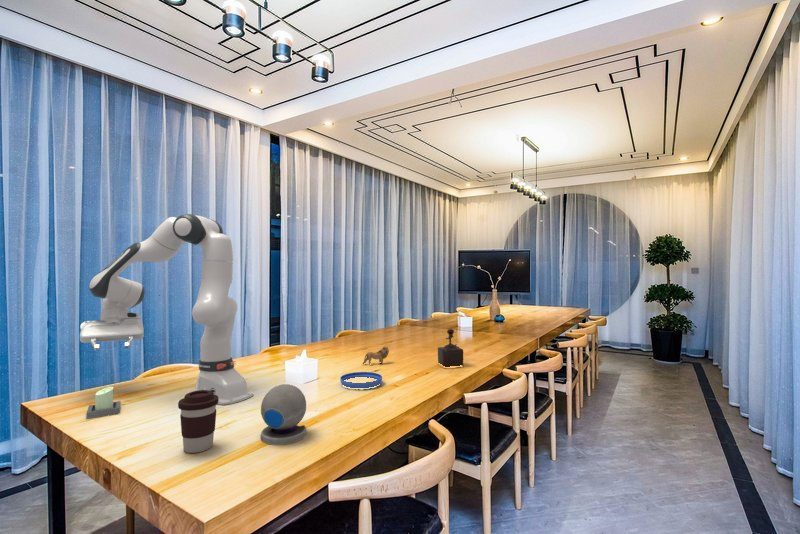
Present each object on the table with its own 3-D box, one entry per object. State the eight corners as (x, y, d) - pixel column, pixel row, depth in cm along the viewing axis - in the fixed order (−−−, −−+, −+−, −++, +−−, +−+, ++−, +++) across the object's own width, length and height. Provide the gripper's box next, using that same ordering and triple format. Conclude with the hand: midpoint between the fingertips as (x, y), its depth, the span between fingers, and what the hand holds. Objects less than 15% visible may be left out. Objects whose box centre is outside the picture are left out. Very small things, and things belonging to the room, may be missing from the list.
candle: (98, 416, 134) (99, 391, 134) (92, 413, 136) (92, 389, 136) (115, 411, 138) (116, 388, 138) (109, 409, 140) (109, 385, 141)
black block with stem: (465, 367, 202) (465, 332, 202) (445, 369, 199) (445, 333, 199) (452, 361, 217) (452, 328, 217) (433, 362, 214) (433, 329, 214)
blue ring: (359, 377, 184) (359, 369, 184) (390, 383, 174) (390, 375, 174) (331, 386, 170) (331, 378, 170) (363, 394, 159) (363, 385, 159)
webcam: (313, 429, 123) (313, 380, 123) (293, 447, 110) (293, 393, 110) (275, 425, 125) (275, 378, 126) (251, 442, 113) (251, 389, 113)
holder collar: (89, 411, 138) (89, 405, 138) (120, 406, 143) (120, 400, 143) (86, 419, 131) (86, 413, 131) (119, 413, 136) (119, 407, 136)
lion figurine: (387, 362, 214) (387, 345, 214) (390, 364, 209) (390, 347, 209) (360, 364, 209) (360, 347, 209) (363, 366, 204) (363, 349, 204)
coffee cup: (187, 440, 114) (188, 388, 114) (223, 439, 115) (223, 387, 115) (170, 456, 104) (171, 399, 104) (210, 455, 105) (210, 398, 105)
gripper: (80, 316, 151) (76, 346, 143) (144, 313, 162) (143, 341, 154) (81, 326, 155) (77, 356, 146) (143, 323, 166) (143, 351, 157)
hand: (112, 348), depth 150 cm, fingers open, 8 cm apart
